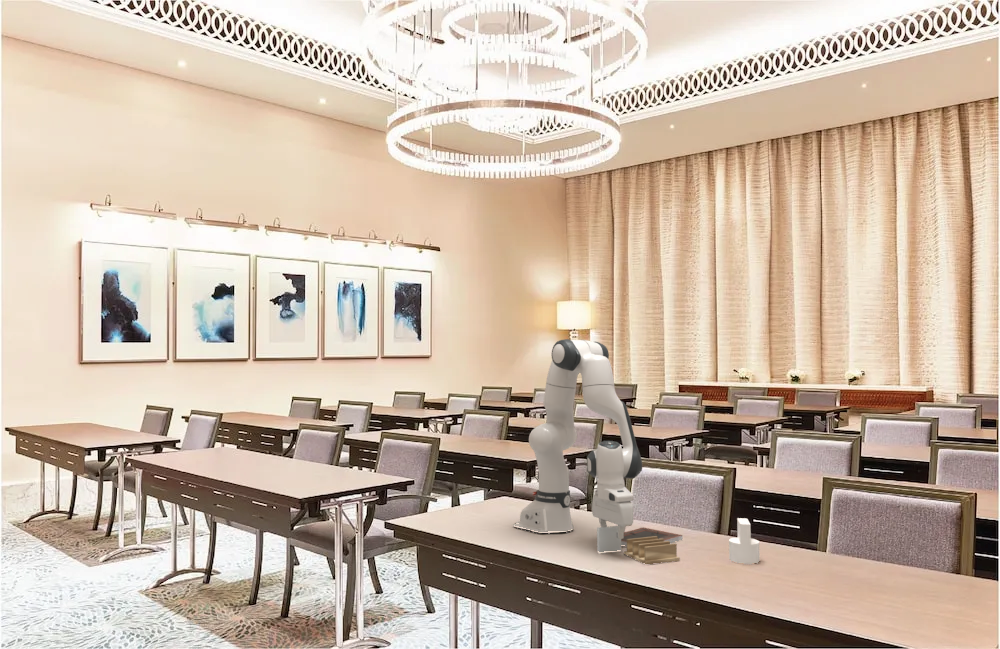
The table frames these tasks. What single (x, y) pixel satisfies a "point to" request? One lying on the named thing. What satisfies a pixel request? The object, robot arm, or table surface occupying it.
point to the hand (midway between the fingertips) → (612, 535)
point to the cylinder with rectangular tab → (744, 544)
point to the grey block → (608, 539)
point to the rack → (651, 550)
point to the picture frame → (650, 535)
